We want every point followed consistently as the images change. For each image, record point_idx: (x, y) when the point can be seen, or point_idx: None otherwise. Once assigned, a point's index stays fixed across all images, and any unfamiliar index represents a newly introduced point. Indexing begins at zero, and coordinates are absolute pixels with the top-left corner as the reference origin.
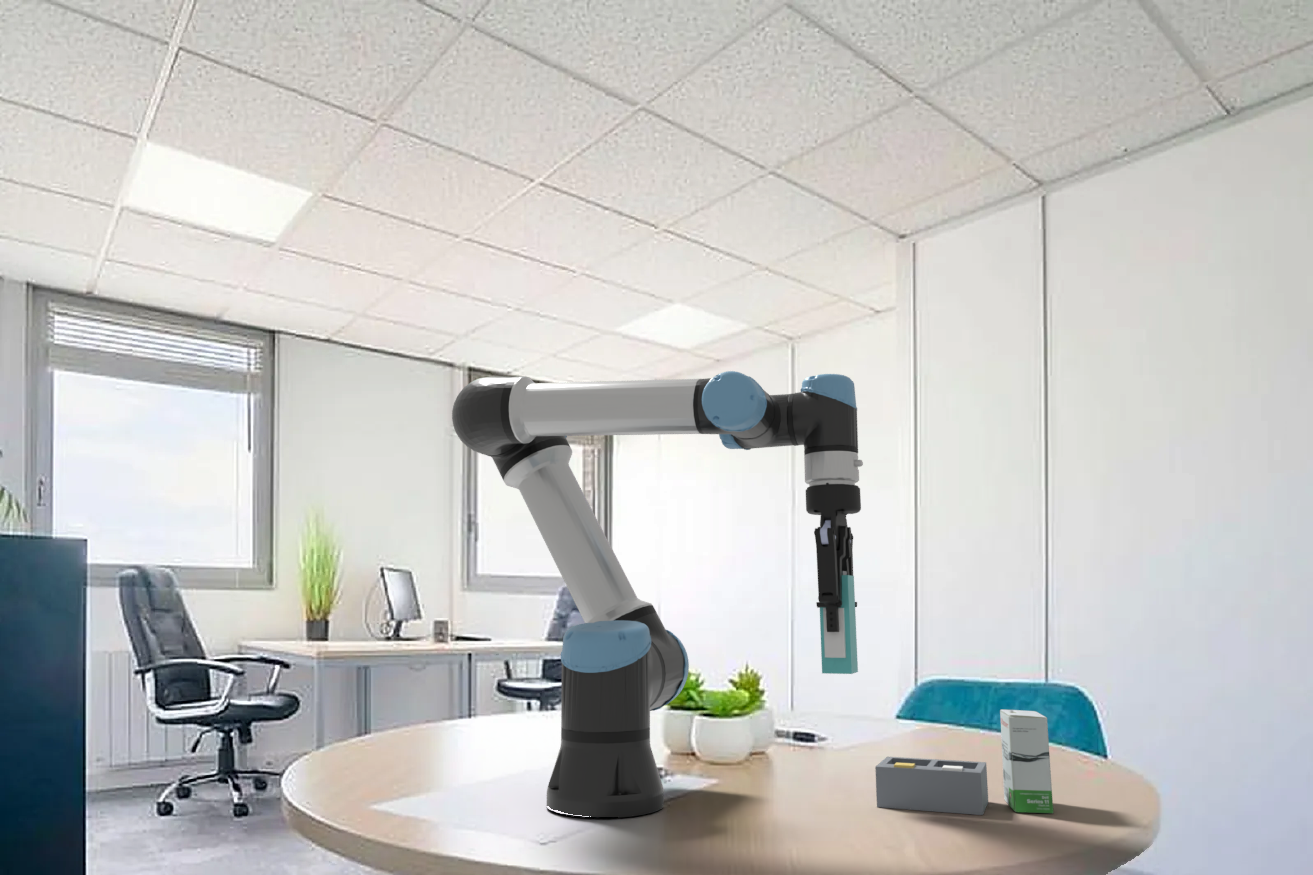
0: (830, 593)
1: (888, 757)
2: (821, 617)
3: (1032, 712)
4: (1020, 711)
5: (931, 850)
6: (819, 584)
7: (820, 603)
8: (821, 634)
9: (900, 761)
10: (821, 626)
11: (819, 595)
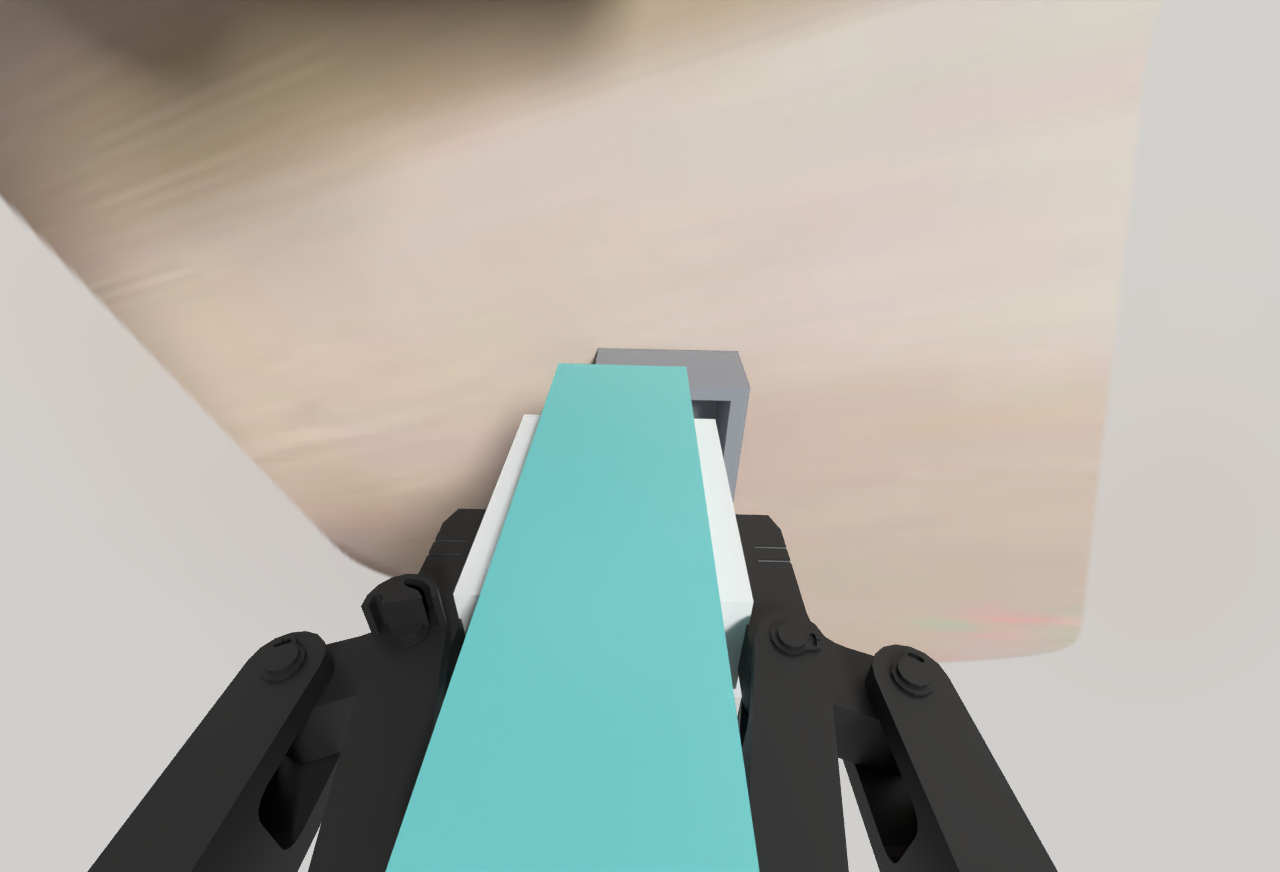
0: (290, 748)
1: (736, 391)
2: (506, 530)
3: (736, 692)
4: (738, 680)
5: (331, 459)
6: (160, 789)
7: (375, 619)
8: (525, 461)
9: (728, 412)
10: (517, 490)
11: (237, 686)
